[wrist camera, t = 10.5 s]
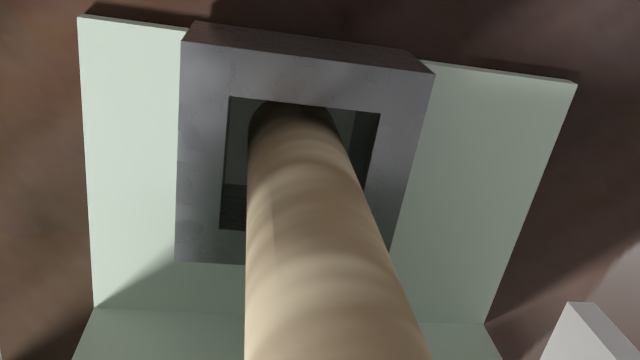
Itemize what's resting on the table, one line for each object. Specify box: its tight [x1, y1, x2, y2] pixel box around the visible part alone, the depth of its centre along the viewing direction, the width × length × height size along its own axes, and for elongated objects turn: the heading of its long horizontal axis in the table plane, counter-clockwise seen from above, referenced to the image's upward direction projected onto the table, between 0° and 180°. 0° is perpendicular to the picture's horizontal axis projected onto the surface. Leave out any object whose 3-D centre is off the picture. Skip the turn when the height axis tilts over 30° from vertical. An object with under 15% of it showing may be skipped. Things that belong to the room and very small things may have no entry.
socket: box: [174, 20, 436, 265], centre depth 21 cm, size 9×9×4 cm
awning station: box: [72, 14, 578, 360], centre depth 19 cm, size 22×16×14 cm
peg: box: [244, 100, 433, 360], centre depth 16 cm, size 4×4×15 cm
